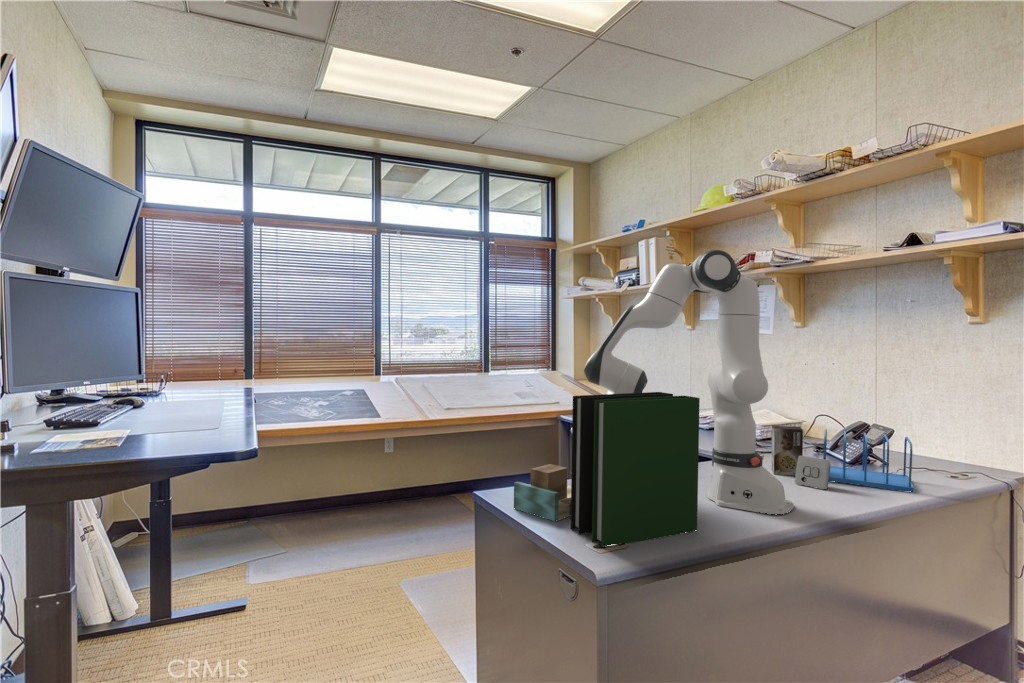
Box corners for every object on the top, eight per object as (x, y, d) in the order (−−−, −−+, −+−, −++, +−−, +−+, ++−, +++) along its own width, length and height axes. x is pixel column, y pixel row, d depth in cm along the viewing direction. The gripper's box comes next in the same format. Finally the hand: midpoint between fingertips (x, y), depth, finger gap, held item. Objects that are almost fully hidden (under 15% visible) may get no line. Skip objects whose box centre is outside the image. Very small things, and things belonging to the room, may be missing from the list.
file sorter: (819, 481, 178) (820, 434, 178) (821, 470, 193) (822, 427, 193) (914, 493, 165) (915, 443, 165) (907, 481, 180) (908, 435, 180)
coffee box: (799, 472, 189) (800, 426, 189) (802, 477, 183) (803, 429, 182) (770, 470, 192) (771, 424, 192) (773, 474, 186) (773, 427, 185)
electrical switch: (794, 484, 173) (795, 455, 174) (800, 483, 177) (802, 454, 177) (826, 491, 166) (827, 460, 167) (832, 490, 169) (834, 460, 170)
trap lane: (600, 504, 149) (600, 479, 149) (554, 521, 135) (554, 493, 135) (560, 493, 159) (560, 469, 159) (513, 508, 144) (514, 482, 144)
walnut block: (566, 497, 145) (567, 467, 145) (547, 504, 139) (548, 473, 139) (549, 492, 149) (550, 463, 149) (530, 498, 143) (530, 468, 143)
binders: (603, 549, 118) (606, 402, 118) (567, 527, 131) (569, 395, 131) (697, 531, 130) (699, 397, 129) (655, 512, 143) (657, 391, 143)
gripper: (578, 405, 169) (559, 441, 162) (635, 410, 155) (618, 450, 148) (586, 418, 173) (568, 454, 166) (644, 423, 159) (627, 463, 152)
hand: (592, 452), depth 157 cm, fingers closed
